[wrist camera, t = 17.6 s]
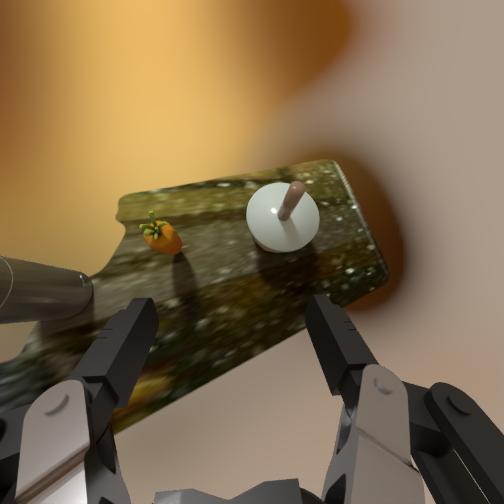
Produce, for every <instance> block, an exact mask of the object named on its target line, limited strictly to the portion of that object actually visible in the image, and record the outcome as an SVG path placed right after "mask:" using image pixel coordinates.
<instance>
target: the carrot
mask: <svg viewBox="0 0 504 504" xmlns="http://www.w3.org/2000/svg"><path fill="white" fill-rule="evenodd" d="M149 216H150V219H151V221H152V224H150V225H148V224H140V226H139V228H140V229H146V230H145V231H144V233H143V234H144V239H145V240H146V242H147V243H148V244H149V246H150V247H151V248H152V249H154V250H156V251H158V252H160V253H163V254H170V255H176V254H178V253H179V252H181V247H182V242H181V239H180V237H179V236H178V234H177V233H176V232H175V230H174V229H173V228H172V227H171V225H170V224H169V223H168V222H166V221H165V222H161V221H156V220H155V216H154V213H153V211H149Z"/></svg>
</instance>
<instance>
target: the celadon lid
mask: <svg viewBox="0 0 504 504" xmlns="http://www.w3.org/2000/svg"><path fill="white" fill-rule="evenodd" d="M305 190H306V189H305V186H304V184H303V183H301V182H298V181H295V182H292V183H291V184H287V183H274V184H269V185H266V186H264V187H262V188H261V189H259V190H258V191H257V192H256V193H255V194H254V195H253V196H252V198H251V199H250V201H249V204H248V207H247V214H246V220H247V225H248V228H249V231H250V233H251V234H252V236H253V237H254V238H255V240H256V241H257V242H258V243H260V244H261V245H262V246H264V247H266V248H267V249H270V250H273V251H276V252H292V251H296V250H298V249H300V248H302V247H304V246H305V245H306V244H308V243H309V242H310V241H311V240H312V239H313V237H314V236H315V234H316V232H317V230H318V227H319V212H318V209H317V206H316V204H315V202H314V201H313V199H312V198H311V197H310V196H309V195H308V194H307V193H306V192H305Z"/></svg>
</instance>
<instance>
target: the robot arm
mask: <svg viewBox="0 0 504 504" xmlns="http://www.w3.org/2000/svg"><path fill="white" fill-rule="evenodd" d="M92 292H93V286H92V283H91V280H90V279H89V277H88V276H87V275H85V274H84V273H82V272H79V271H74V270H70V269H65V268H59V267H55V266H50V265H45V264H40V263H35V262H30V261H25V260H20V259H15V258H9V257H4V256H0V324H9V323H20V322H31V321H43V320H54V319H64V318H69V317H72V316H74V315H76V314H78V313H79V312H81V311H82V310H83V309H84V308H85V307H86V306H87V304H88V303H89V301H90V299H91V297H92ZM305 323H306V327H307V330H308V333H309V335H310V338H311V341H312V343H313V346H314V348H315V351H316V354H317V357H318V359H319V362H320V364H321V367H322V370H323V373H324V375H325V378H326V381H327V383H328V386H329V389H330V391H331V394H332V395H333V396H334V395H341V396H342V399H343V401H344V404H343V407H342V412H341V417H340V422H339V427H338V432H337V437H336V442H335V447H334V452H333V456H332V460H331V462H330V465H329V468H328V471H327V474H326V479H325V483H324V487H323V492H322V496H321V499H320V498H319V497H317V496H316V495H314V494H313V493H311V492H309V491H307V490H305V489H303V488H300V487H299V481H298V478H296V479H286V480H276V481H266V482H263V483H261V484H259V485H257V486H255V487H253V488H252V489H250V490H248V491H246V492H244V493H242V494H240V495H238V496H237V497H235V498H233V499H230V500H226V499H222V498H219V497H216V496H213V495H210V494H207V493H204V492H201V491H198V490H195V489H184V490H174V491H163V492H156V494H155V498H154V503H152V504H425V496H424V486H423V481H422V478H421V475H422V477H423V479H424V481H425V483H426V485H427V487H428V489H429V491H430V493H431V495H432V497H433V499H434V501H435V503H436V504H489V503H490V504H504V435H503V434H502V432H501V431H500V430H499V429H498V428H497V427H496V425H495V424H494V423H493V422H492V421H491V420H490V418H489V417H488V416H487V415H486V414H485V413H484V411H483V410H482V409H481V408H480V407H479V406H478V405H477V403H476V402H475V401H474V400H473V399H472V398H470V397H469V396H468V395H467V394H466V393H464V392H463V391H461V390H460V389H458V388H456V387H454V386H452V385H450V384H447V383H441V382H438V383H435V384H434V385H432V386H431V387H430V389H428V388H424V387H421V386H417V385H414V384H410V383H407V382H404V381H401V380H400V379H399V378H398V377H397V376H396V375H395V374H394V373H393V372H392V371H390V370H388V369H387V368H385V367H383V366H380V365H379V363H378V362H377V360H376V359H375V357H374V356H373V354H372V352H371V351H370V349H369V348H368V346H367V345H366V343H365V341H364V340H363V338H362V337H361V335H360V334H359V332H358V331H357V330H356V327H355V326H354V324H353V323H352V321H351V319H350V318H349V316H348V315H347V313H346V312H345V311H344V310H343V309H342V308H341V307H339V306H338V305H333V304H332V303H331V301H330V299H329V297H328V296H327V295H311V296H310V298H309V302H308V306H307V310H306V314H305ZM158 327H159V318H158V315H157V312H156V308H155V305H154V302H153V299H152V298H134V299H132V301H131V302H130V304H129V305H128V307H127V308H126V309H121V310H120V311H119V312H117V313H116V314H115V315H114V316H112V317H111V318H110V319H109V321H108V322H107V324H106V325H105V326H104V328H103V331H101V332H100V333H99V335H98V336H97V339H96V340H94V342H93V343H92V345H91V346H90V347H89V349H88V350H87V352H86V353H85V355H84V356H83V357H82V359H81V360H80V362H79V363H78V364H77V366H76V367H75V369H74V370H73V371H72V373H71V374H70V376H69V377H68V378H67V379H66V380H65V381H64V382H61V383H59V384H57V385H55V386H53V387H51V388H50V389H48V390H47V391H45V392H44V393H43V394H42V395H41V396H39V397H38V398H37V399H36V400H35V402H33V403H31V404H28V405H25V406H22V407H19V408H16V409H14V410H11V411H8V412H5V413H2V414H0V504H131V500H130V496H129V493H128V490H127V487H126V485H125V483H124V481H123V478H122V475H121V471H120V466H119V461H118V456H117V450H116V445H115V441H114V435H113V430H112V425H111V421H110V418H111V416H112V414H113V411H114V409H115V408H126V406H127V404H128V401H129V399H130V397H131V394H132V392H133V389H134V387H135V384H136V382H137V380H138V377H139V375H140V372H141V370H142V368H143V365H144V363H145V360H146V358H147V355H148V353H149V351H150V348H151V346H152V343H153V341H154V339H155V336H156V334H157V331H158ZM454 450H455V451H456V452H457V454H458V455H459V456H460V458H461V460H462V461H463V463H464V464H465V466H466V467H467V469H468V470H469V472H470V473H471V475H472V476H473V478H474V479H475V481H476V482H477V484H478V485H479V487H480V488H481V490H482V492H483V493H484V495H485V496H486V498H487V499H488V501H489V502H488V501H487V499H486V498H485V496H484V495H483V493H482V492H481V490H480V489H479V487H478V486H477V484H476V483H475V481H474V480H473V478H472V476H471V475H470V474H469V472H468V470H467V469H466V467H465V466H464V464H463V463H462V461H461V460H460V458H459V457H458V455H457V454H456V452H455V451H454ZM411 455H412V458H413V459H414V462H415V463H416V465H417V467H418V469H419V471H420V473H421V475H420V473H419V471H418V470H417V469H416V468H414V467H413V465H412V462H411Z"/></svg>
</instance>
